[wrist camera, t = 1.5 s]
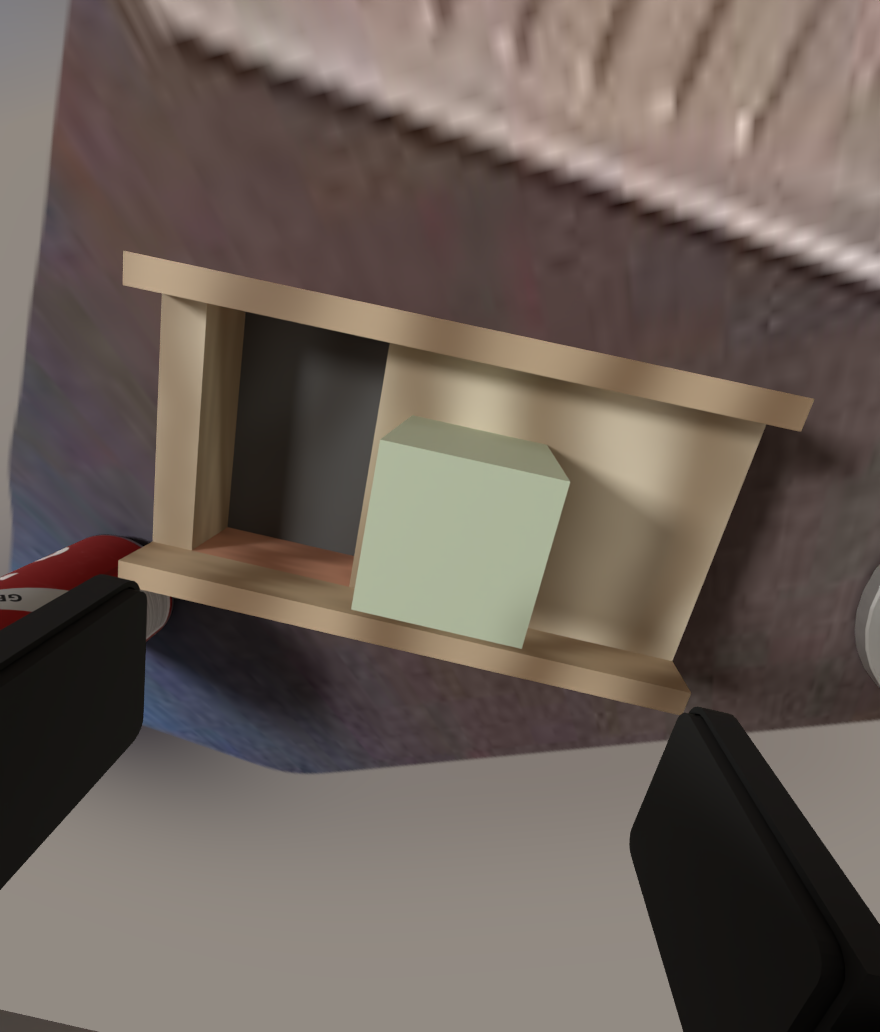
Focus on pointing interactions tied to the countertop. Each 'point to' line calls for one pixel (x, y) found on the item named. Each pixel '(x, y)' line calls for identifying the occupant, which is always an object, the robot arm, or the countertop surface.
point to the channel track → (452, 399)
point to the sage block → (459, 529)
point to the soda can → (74, 579)
